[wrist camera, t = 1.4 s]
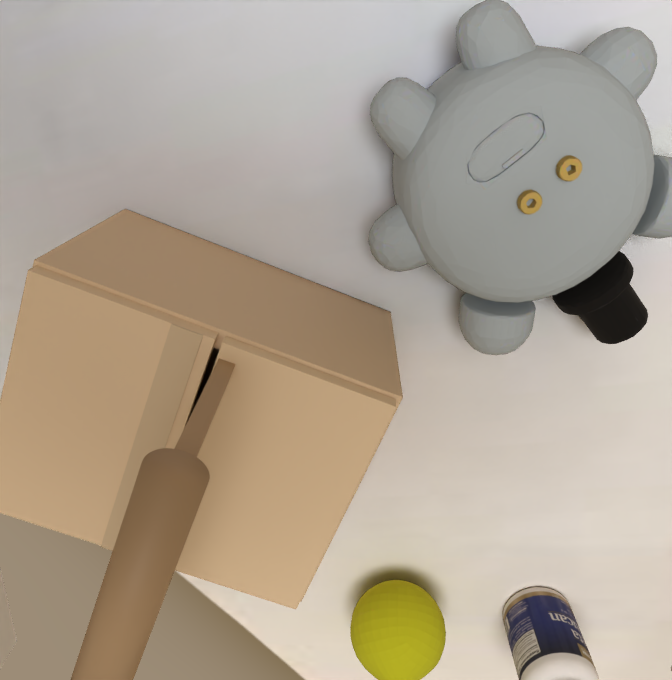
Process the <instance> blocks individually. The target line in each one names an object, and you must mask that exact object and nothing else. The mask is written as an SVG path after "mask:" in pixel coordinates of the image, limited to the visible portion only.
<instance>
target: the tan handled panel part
mask: <svg viewBox="0 0 672 680" xmlns="http://www.w3.org/2000/svg"><path fill="white" fill-rule="evenodd" d="M395 409H396V400H395V399H394V398H391V397H389V396H386V395H383V394H381V393H378V392H375V391H372V390H370V389H367V388H364V387H362V386H359V385H356V384H354V383H351V382H348V381H346V380H343V379H340V378H337V377H335V376H332V375H329V374H327V373H324V372H321V371H319V370H316V369H313V368H311V367H308V366H305V365H303V364H300V363H297V362H294V361H292V360H289V359H286V358H284V357H281V356H278V355H276V354H273V353H270V352H268V351H265V350H262V349H259V348H257V347H254V346H251V345H249V344H246V343H243V342H241V341H238V340H235V339H233V338H230V337H227V336H225V338H224V340H223V342H222V344H221V347H220V350H219V353H218V356H217V358H216V361H215V364H214V367H213V370H212V373H211V375H210V377H209V379H208V381H207V383H206V385H205V387H204V390H203V392H202V394H201V396H200V398H199V400H198V402H197V404H196V406H195V408H194V410H193V412H192V414H191V416H190V418H189V420H188V422H187V424H186V426H185V428H184V430H183V432H182V434H181V436H180V438H179V440H178V442H177V444H176V446H175V448H174V449H172V448H163V449H157V450H154V451H152V452H150V453H148V454H147V455H146V456H145V457H144V458H143V460H142V463H141V466H140V469H139V472H138V475H137V479H136V482H135V485H134V488H133V491H132V494H131V497H130V500H129V503H128V506H127V509H126V512H125V515H124V518H123V521H122V524H121V527H120V530H119V533H118V537H117V540H116V543H115V546H114V549H113V552H112V555H111V558H110V562H109V564H108V567H107V570H106V573H105V576H104V579H103V582H102V586H101V589H100V592H99V595H98V598H97V601H96V604H95V607H94V610H93V613H92V616H91V619H90V622H89V625H88V629H87V632H86V634H85V638H84V640H83V644H82V646H81V650H80V653H79V656H78V659H77V662H76V665H75V668H74V671H73V674H72V677H71V680H133V678H134V676H135V673H136V670H137V668H138V665H139V663H140V660H141V657H142V655H143V652H144V650H145V647H146V644H147V642H148V639H149V637H150V634H151V631H152V629H153V626H154V624H155V621H156V618H157V615H158V613H159V610H160V608H161V605H162V602H163V600H164V597H165V595H166V592H167V590H168V586H169V584H170V582H171V579H172V576H173V574H174V571H175V570H176V571H179V572H182V573H185V574H188V575H191V576H194V577H197V578H200V579H203V580H207V581H210V582H213V583H216V584H219V585H222V586H225V587H228V588H231V589H234V590H237V591H241V592H244V593H247V594H250V595H253V596H256V597H259V598H262V599H265V600H268V601H271V602H275V603H278V604H281V605H284V606H287V607H290V608H293V609H296V608H297V606H298V604H299V602H300V600H301V598H302V596H303V594H304V592H305V590H306V588H307V586H308V584H309V582H310V580H311V578H312V576H313V574H314V572H315V570H316V568H317V566H318V564H319V562H320V560H321V558H322V556H323V554H324V552H325V550H326V548H327V546H328V544H329V542H330V540H331V538H332V536H333V534H334V532H335V530H336V528H337V526H338V524H339V522H340V520H341V518H342V516H343V514H344V512H345V510H346V508H347V506H348V504H349V502H350V500H351V498H352V496H353V494H354V491H355V489H356V487H357V485H358V483H359V481H360V479H361V477H362V475H363V473H364V471H365V469H366V467H367V465H368V463H369V461H370V459H371V457H372V455H373V453H374V451H375V449H376V447H377V445H378V443H379V441H380V439H381V437H382V435H383V433H384V431H385V429H386V427H387V425H388V423H389V421H390V419H391V417H392V415H393V413H394V411H395Z"/></svg>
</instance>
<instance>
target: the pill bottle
mask: <svg viewBox="0 0 672 680" xmlns="http://www.w3.org/2000/svg"><path fill="white" fill-rule="evenodd" d="M503 620H504V625H505V629H506V633H507V637H508V641H509V645H510V648H511V652H512V656H513V659H514V663H515V667H516V670H517V675H518V678H519V680H599V677H598V674H597V671H596V669H595V666H594V664H593V661H592V659H591V656H590V653H589V651H588V649H587V646H586V644H585V641H584V639H583V636H582V634H581V631H580V629H579V627H578V624H577V622H576V619H575V617H574V614H573V612H572V609H571V607H570V605H569V603H568V601H567V600H566V599H565V597H564V596H562V595H561V594H560V593H558V592H557V591H555V590H552V589H549V588H544V587H533V588H528V589H524V590H522V591H520V592H518V593H516V594H515V595H514V596H512V597H511V598H510V599H509V600H508V602H507V603H506V605H505V607H504V611H503Z"/></svg>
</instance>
